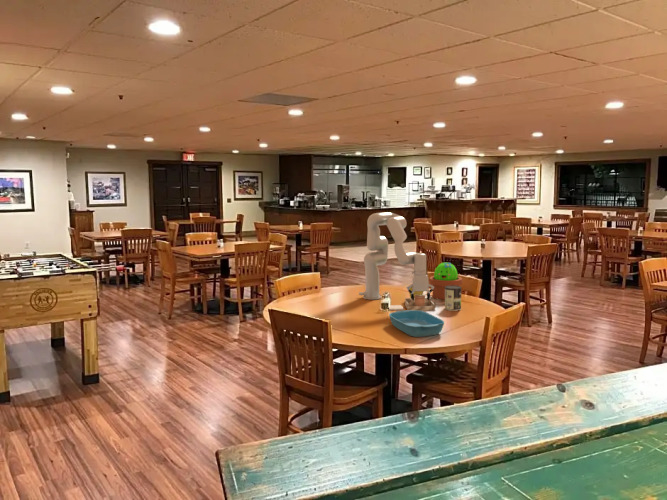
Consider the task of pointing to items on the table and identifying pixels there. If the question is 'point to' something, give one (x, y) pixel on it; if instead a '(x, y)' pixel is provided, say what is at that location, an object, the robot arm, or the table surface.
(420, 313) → the casserole dish
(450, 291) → the coffee can
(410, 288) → the plant pot
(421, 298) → the terracotta pot
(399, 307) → the stone tile
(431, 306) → the frame
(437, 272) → the potted cactus
